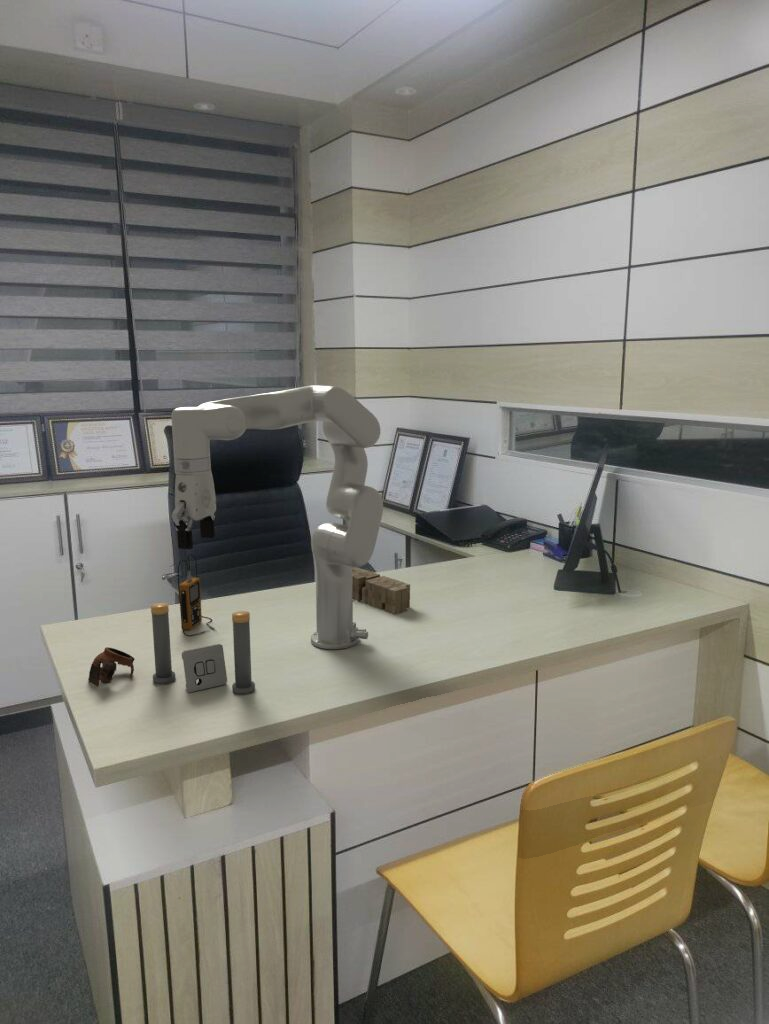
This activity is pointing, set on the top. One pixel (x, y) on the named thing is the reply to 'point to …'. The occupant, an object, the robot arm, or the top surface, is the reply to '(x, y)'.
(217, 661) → the electrical switch
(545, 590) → the top surface
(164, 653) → the post far
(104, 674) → the brown curved hollow piece
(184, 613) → the multimeter
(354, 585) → the block tower
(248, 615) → the post near
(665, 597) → the top surface
